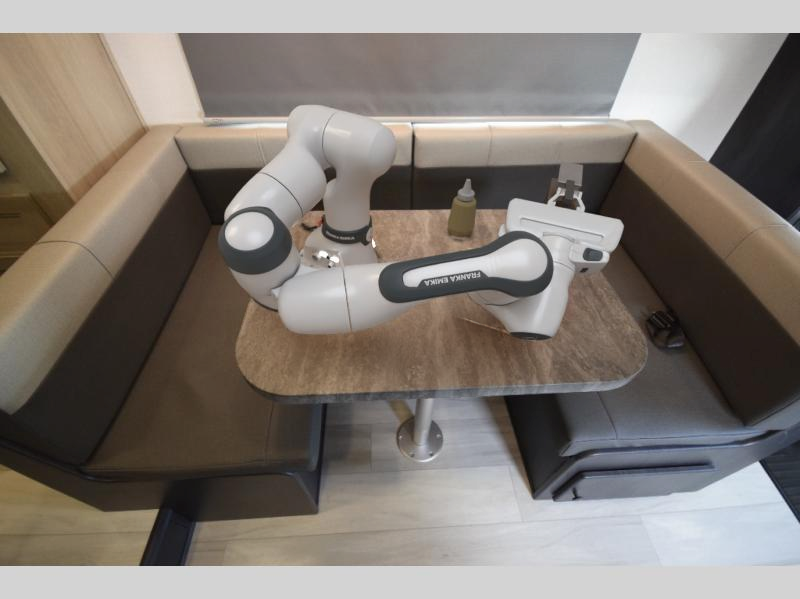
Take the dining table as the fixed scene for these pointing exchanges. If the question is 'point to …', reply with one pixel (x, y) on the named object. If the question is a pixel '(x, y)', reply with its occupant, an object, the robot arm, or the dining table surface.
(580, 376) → the dining table surface
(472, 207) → the squeeze bottle
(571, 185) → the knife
